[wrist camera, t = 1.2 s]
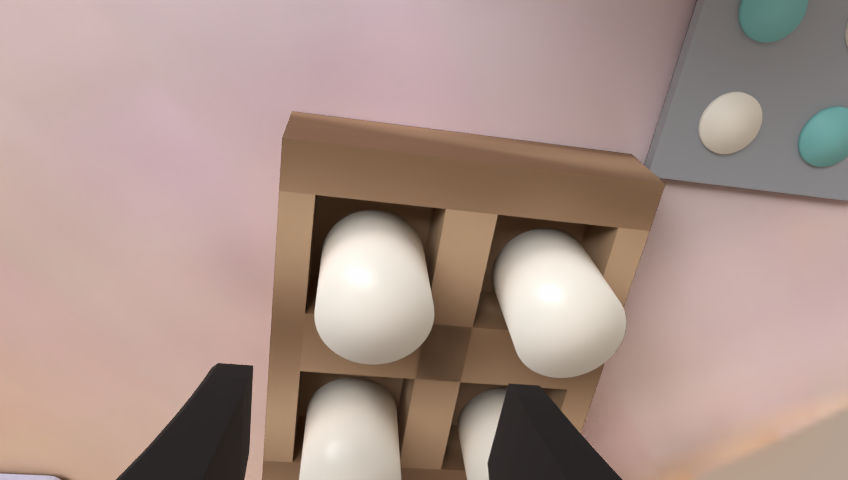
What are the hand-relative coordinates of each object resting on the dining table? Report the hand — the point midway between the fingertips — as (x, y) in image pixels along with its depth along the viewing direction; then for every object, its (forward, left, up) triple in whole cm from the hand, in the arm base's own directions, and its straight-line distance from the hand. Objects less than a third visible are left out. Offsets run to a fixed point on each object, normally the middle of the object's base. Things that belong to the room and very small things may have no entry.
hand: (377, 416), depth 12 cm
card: (+6, -11, -8) cm, 15 cm away
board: (-3, -2, -8) cm, 9 cm away
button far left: (-6, 0, -6) cm, 9 cm away
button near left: (0, 0, -6) cm, 6 cm away
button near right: (0, -5, -6) cm, 8 cm away
